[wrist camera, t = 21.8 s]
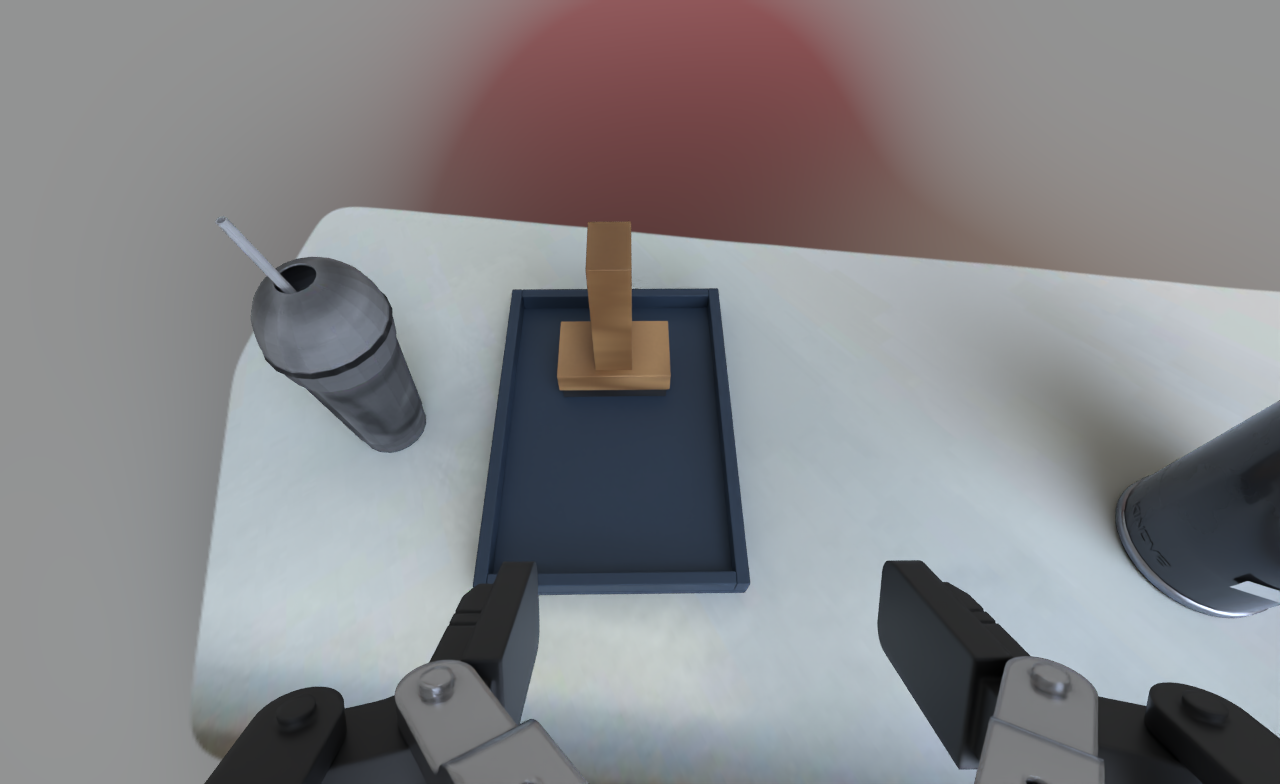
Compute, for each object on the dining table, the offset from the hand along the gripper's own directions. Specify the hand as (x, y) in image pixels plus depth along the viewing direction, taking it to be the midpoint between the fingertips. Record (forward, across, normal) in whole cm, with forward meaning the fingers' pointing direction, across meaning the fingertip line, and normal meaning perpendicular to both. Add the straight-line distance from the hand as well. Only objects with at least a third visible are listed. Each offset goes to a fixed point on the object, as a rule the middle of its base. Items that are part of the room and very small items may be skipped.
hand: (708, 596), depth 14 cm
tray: (+30, +3, +5) cm, 31 cm away
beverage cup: (+30, +19, +4) cm, 36 cm away
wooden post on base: (+33, +3, +1) cm, 33 cm away
